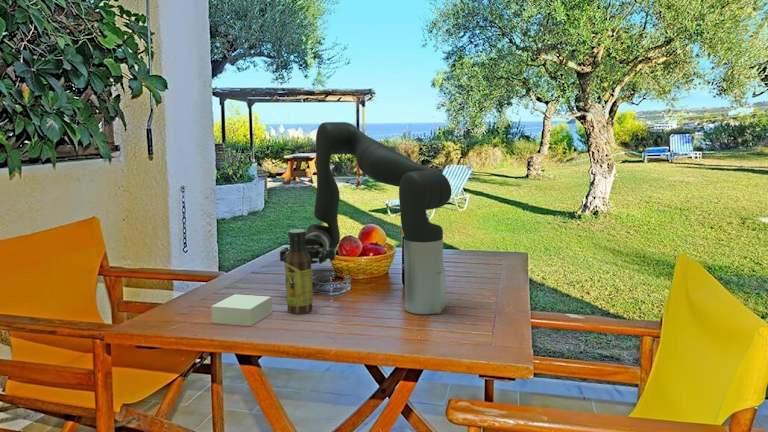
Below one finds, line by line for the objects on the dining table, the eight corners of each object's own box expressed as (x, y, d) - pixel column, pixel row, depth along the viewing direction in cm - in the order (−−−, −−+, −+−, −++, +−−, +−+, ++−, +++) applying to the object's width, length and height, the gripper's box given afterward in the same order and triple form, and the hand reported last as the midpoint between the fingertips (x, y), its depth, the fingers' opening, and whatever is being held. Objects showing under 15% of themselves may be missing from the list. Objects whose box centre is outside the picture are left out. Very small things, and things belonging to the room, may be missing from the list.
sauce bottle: (284, 309, 144) (280, 229, 141) (309, 305, 146) (305, 227, 143) (291, 316, 138) (287, 233, 135) (316, 312, 140) (313, 230, 138)
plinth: (272, 312, 141) (271, 296, 141) (250, 326, 132) (249, 309, 131) (235, 310, 144) (234, 294, 144) (212, 322, 135) (211, 306, 134)
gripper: (288, 234, 164) (274, 245, 147) (338, 233, 163) (330, 244, 147) (289, 260, 165) (276, 274, 149) (339, 260, 164) (332, 274, 148)
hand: (303, 260), depth 148 cm, fingers open, 8 cm apart
